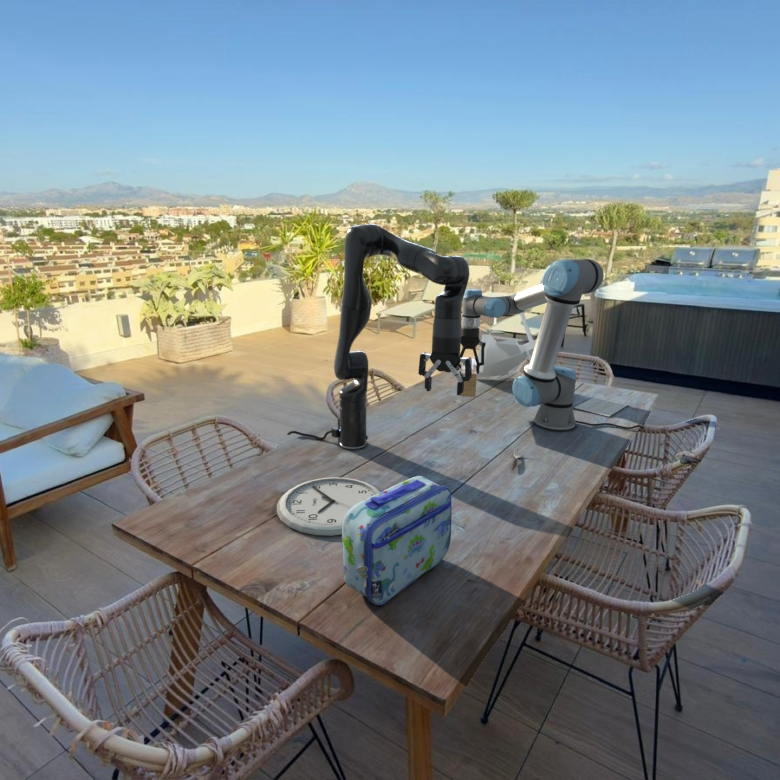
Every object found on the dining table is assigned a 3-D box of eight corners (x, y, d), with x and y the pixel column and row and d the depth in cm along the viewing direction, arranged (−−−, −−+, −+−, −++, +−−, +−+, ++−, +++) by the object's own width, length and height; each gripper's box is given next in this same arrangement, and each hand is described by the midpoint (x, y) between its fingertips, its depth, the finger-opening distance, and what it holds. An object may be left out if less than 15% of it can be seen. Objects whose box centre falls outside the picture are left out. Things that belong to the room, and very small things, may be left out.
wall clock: (392, 527, 129) (268, 531, 127) (391, 533, 130) (269, 537, 127) (383, 473, 158) (282, 475, 155) (383, 478, 158) (282, 480, 156)
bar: (460, 378, 228) (461, 358, 225) (473, 379, 227) (475, 358, 225) (459, 396, 205) (461, 373, 202) (475, 397, 204) (476, 373, 201)
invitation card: (608, 416, 214) (573, 407, 224) (608, 416, 214) (573, 408, 224) (628, 404, 229) (594, 396, 238) (628, 405, 229) (594, 397, 238)
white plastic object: (488, 420, 264) (468, 397, 239) (469, 347, 286) (449, 319, 261) (560, 396, 252) (546, 369, 227) (534, 322, 274) (519, 290, 249)
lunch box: (371, 618, 102) (371, 524, 95) (336, 591, 109) (334, 502, 103) (455, 562, 119) (460, 479, 113) (420, 542, 126) (423, 463, 120)
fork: (508, 471, 164) (508, 465, 164) (514, 451, 179) (515, 446, 178) (516, 472, 164) (517, 466, 163) (522, 452, 178) (523, 447, 177)
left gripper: (416, 334, 137) (414, 393, 142) (469, 339, 132) (466, 400, 137) (425, 329, 144) (423, 385, 148) (476, 334, 139) (472, 392, 143)
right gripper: (447, 327, 215) (444, 381, 222) (494, 329, 213) (489, 383, 220) (447, 324, 222) (445, 376, 229) (493, 326, 220) (488, 379, 227)
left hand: (443, 392), depth 143 cm, fingers open, 8 cm apart
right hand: (467, 380), depth 224 cm, fingers closed on bar, 6 cm apart
